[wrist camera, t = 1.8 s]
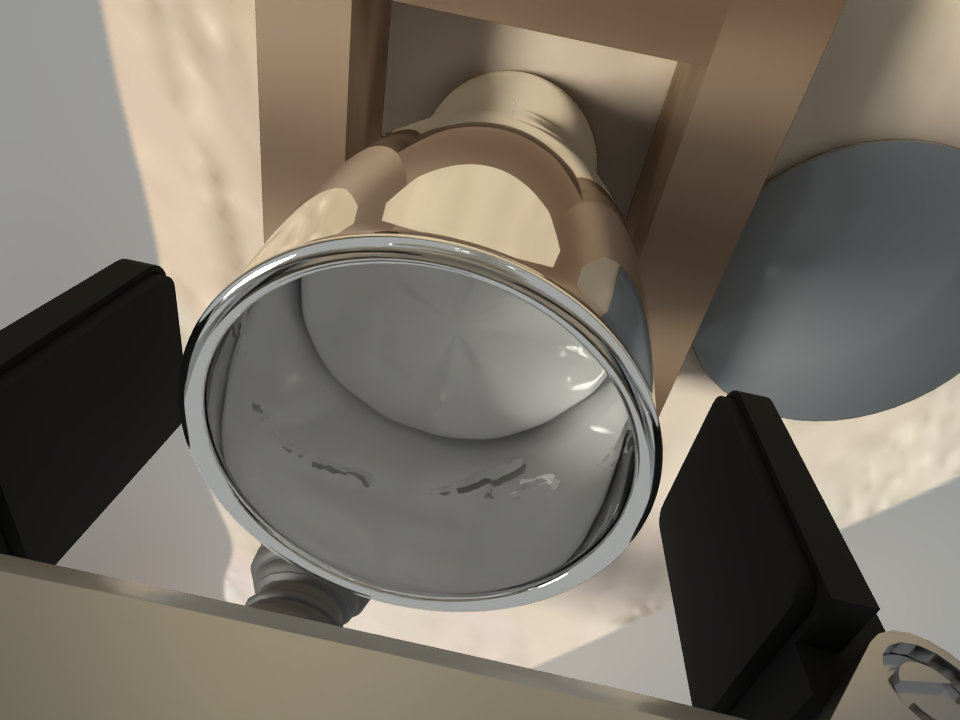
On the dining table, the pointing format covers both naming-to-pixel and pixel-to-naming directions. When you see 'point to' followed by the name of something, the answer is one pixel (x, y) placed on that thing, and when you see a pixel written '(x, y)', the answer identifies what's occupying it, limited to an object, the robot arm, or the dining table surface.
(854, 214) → the coaster
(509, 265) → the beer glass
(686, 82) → the frame
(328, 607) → the candle holder
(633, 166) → the dining table surface
